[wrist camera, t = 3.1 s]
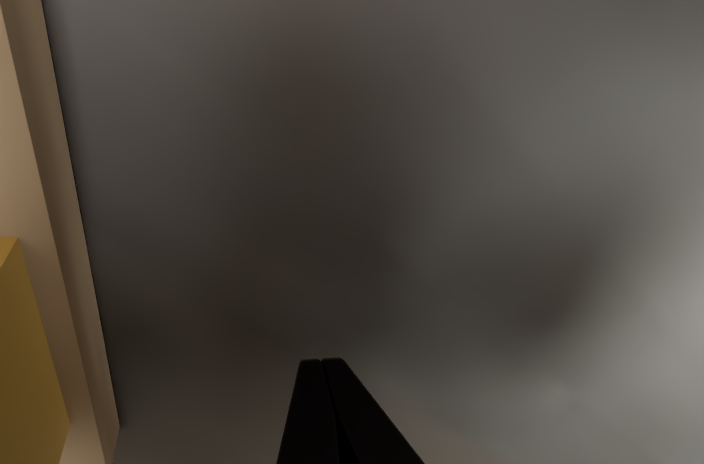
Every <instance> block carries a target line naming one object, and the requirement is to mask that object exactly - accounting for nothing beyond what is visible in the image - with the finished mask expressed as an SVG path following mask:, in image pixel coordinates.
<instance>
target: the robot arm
mask: <svg viewBox="0 0 704 464" xmlns="http://www.w3.org/2000/svg"><path fill="white" fill-rule="evenodd" d="M276 464H425V463H424V462H423V461H422V460H421V458H420V457H419V456H418V454H417V453H416V452H415V451H414V449H413V448H412V447H411V445H410V444H409V443H408V442H407V440H406V439H405V438H404V436H403V435H402V434H401V433H400V431H399V430H398V429H397V428H396V426H395V425H394V424H393V422H392V421H391V420H390V419H389V417H388V416H387V415H386V413H385V412H384V411H383V410H382V408H381V407H380V406H379V404H378V403H377V402H376V401H375V399H374V398H373V397H372V395H371V394H370V393H369V392H368V390H367V389H366V388H365V386H364V385H363V384H362V383H361V381H360V380H359V379H358V378H357V376H356V375H355V374H354V372H353V371H352V370H351V369H350V367H349V366H348V365H347V363H346V362H345V361H344V360H343V359H342V358H324V359H322V360H321V361H320V360H319V359H303V360H301V361H300V363H299V367H298V371H297V375H296V380H295V384H294V389H293V393H292V397H291V402H290V406H289V411H288V415H287V419H286V424H285V428H284V432H283V437H282V441H281V446H280V450H279V454H278V459H277V463H276Z"/></svg>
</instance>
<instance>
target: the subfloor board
mask: <svg viewBox="0 0 704 464" xmlns="http://www.w3.org/2000/svg"><path fill="white" fill-rule="evenodd" d="M0 237H18V239H19V242H20V246H21V249H22V253H23V257H24V260H25V264H26V267H27V271H28V274H29V278H30V282H31V285H32V289H33V292H34V296H35V300H36V303H37V307H38V310H39V314H40V317H41V321H42V325H43V328H44V332H45V335H46V339H47V342H48V346H49V350H50V353H51V357H52V360H53V364H54V367H55V371H56V375H57V378H58V382H59V385H60V389H61V392H62V396H63V400H64V403H65V407H66V410H67V414H68V417H69V421H70V426H69V430H68V433H67V437H66V440H65V444H64V448H63V451H62V455H61V458H60V462H59V464H113V460H114V455H115V450H116V445H117V439H118V434H119V429H120V425H119V420H118V414H117V409H116V404H115V398H114V393H113V387H112V382H111V377H110V371H109V366H108V360H107V355H106V349H105V344H104V339H103V333H102V328H101V322H100V317H99V312H98V306H97V301H96V295H95V290H94V284H93V279H92V274H91V268H90V263H89V257H88V252H87V246H86V241H85V236H84V230H83V225H82V219H81V214H80V209H79V203H78V198H77V192H76V187H75V181H74V176H73V171H72V165H71V160H70V154H69V149H68V143H67V138H66V133H65V127H64V122H63V116H62V111H61V106H60V100H59V95H58V89H57V84H56V78H55V73H54V68H53V62H52V57H51V51H50V46H49V41H48V35H47V30H46V24H45V19H44V13H43V8H42V3H41V0H0Z"/></svg>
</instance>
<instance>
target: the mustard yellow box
mask: <svg viewBox="0 0 704 464" xmlns="http://www.w3.org/2000/svg"><path fill="white" fill-rule="evenodd" d="M69 426H70V421H69V417H68V414H67V410H66V407H65V403H64V400H63V396H62V392H61V389H60V385H59V382H58V378H57V375H56V371H55V367H54V364H53V360H52V357H51V353H50V350H49V346H48V342H47V339H46V335H45V332H44V328H43V325H42V321H41V317H40V314H39V310H38V307H37V303H36V300H35V296H34V292H33V289H32V285H31V282H30V278H29V274H28V271H27V267H26V264H25V260H24V257H23V253H22V249H21V246H20V242H19V239H18V237H0V464H59V462H60V458H61V455H62V451H63V448H64V444H65V440H66V437H67V433H68V430H69Z"/></svg>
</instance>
